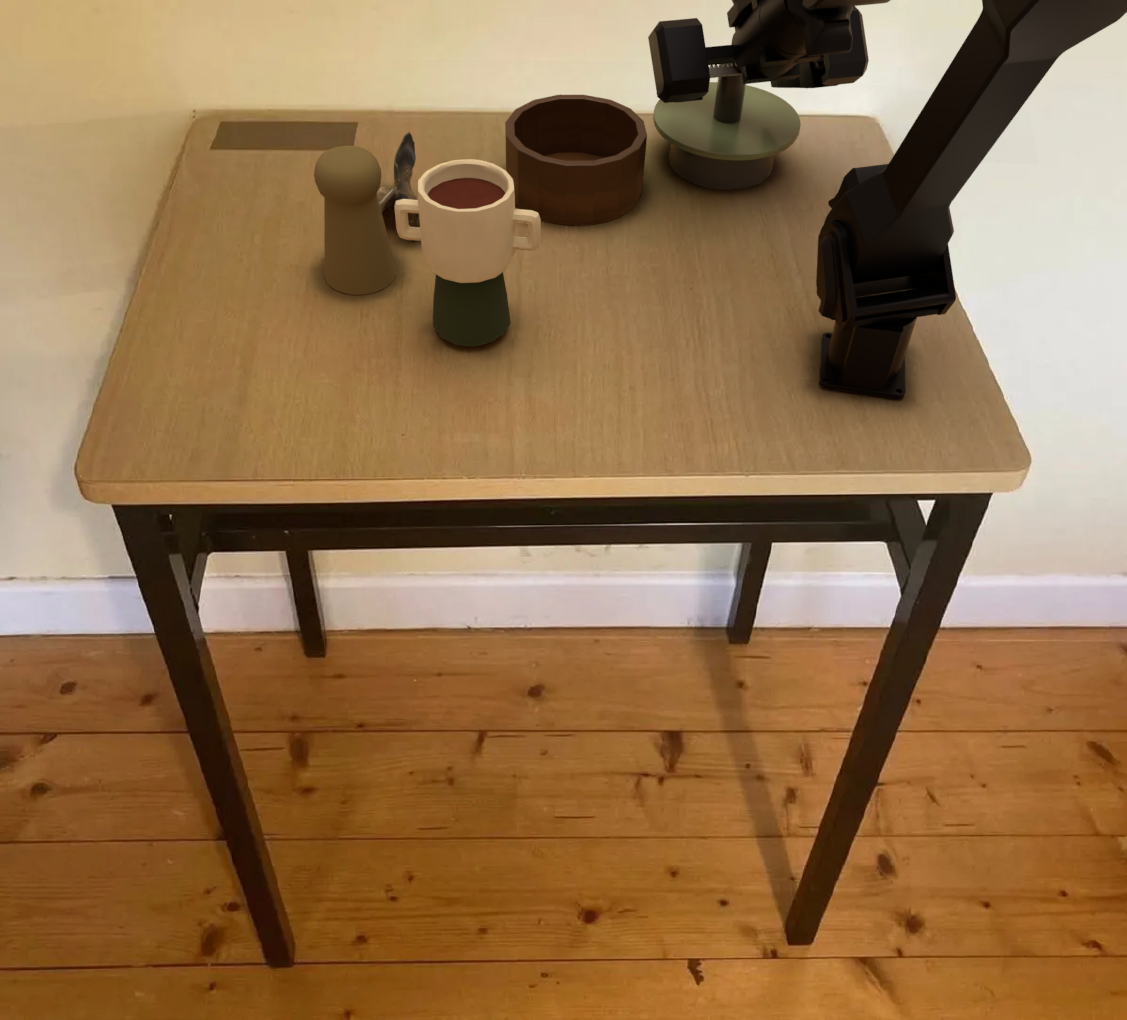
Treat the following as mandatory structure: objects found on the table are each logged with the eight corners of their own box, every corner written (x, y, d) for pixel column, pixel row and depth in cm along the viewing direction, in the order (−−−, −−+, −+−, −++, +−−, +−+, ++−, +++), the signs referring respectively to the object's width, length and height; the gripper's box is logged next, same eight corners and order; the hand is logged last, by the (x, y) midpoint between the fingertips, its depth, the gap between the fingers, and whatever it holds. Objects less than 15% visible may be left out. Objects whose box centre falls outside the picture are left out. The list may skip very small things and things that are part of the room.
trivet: (768, 195, 105) (774, 161, 102) (662, 182, 106) (666, 148, 103) (775, 142, 111) (781, 109, 109) (676, 130, 112) (679, 97, 110)
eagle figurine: (472, 216, 99) (431, 152, 103) (433, 172, 93) (390, 106, 96) (405, 268, 100) (367, 203, 104) (362, 229, 94) (323, 161, 98)
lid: (775, 180, 100) (787, 115, 95) (631, 145, 103) (636, 81, 99) (814, 112, 108) (827, 49, 104) (680, 82, 112) (687, 20, 107)
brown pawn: (402, 255, 96) (391, 138, 88) (388, 297, 92) (375, 178, 84) (334, 250, 97) (316, 132, 89) (316, 291, 93) (296, 172, 85)
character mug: (544, 307, 92) (547, 164, 83) (533, 362, 87) (534, 218, 78) (414, 295, 93) (402, 152, 83) (395, 349, 88) (380, 204, 78)
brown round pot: (648, 224, 101) (653, 164, 96) (508, 226, 100) (507, 166, 96) (633, 152, 109) (637, 93, 105) (504, 153, 108) (503, 94, 104)
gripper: (885, -93, 90) (806, -10, 105) (665, -77, 86) (616, 7, 102) (905, 46, 91) (823, 109, 106) (688, 68, 87) (635, 130, 102)
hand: (726, 86), depth 104 cm, fingers open, 9 cm apart
